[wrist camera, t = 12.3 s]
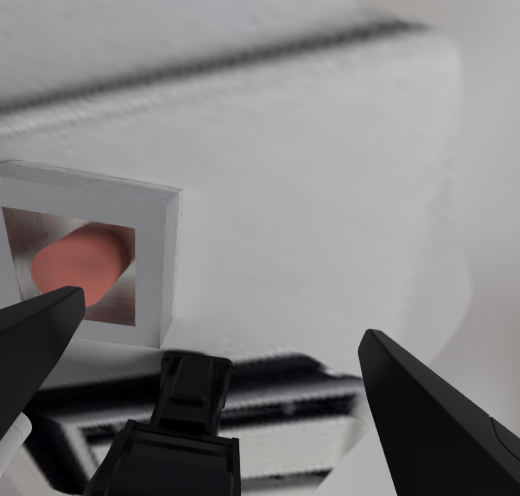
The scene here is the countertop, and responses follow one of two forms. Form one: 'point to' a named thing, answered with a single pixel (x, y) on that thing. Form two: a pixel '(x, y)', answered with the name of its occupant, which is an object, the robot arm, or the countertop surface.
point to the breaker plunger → (81, 263)
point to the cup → (13, 440)
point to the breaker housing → (103, 216)
